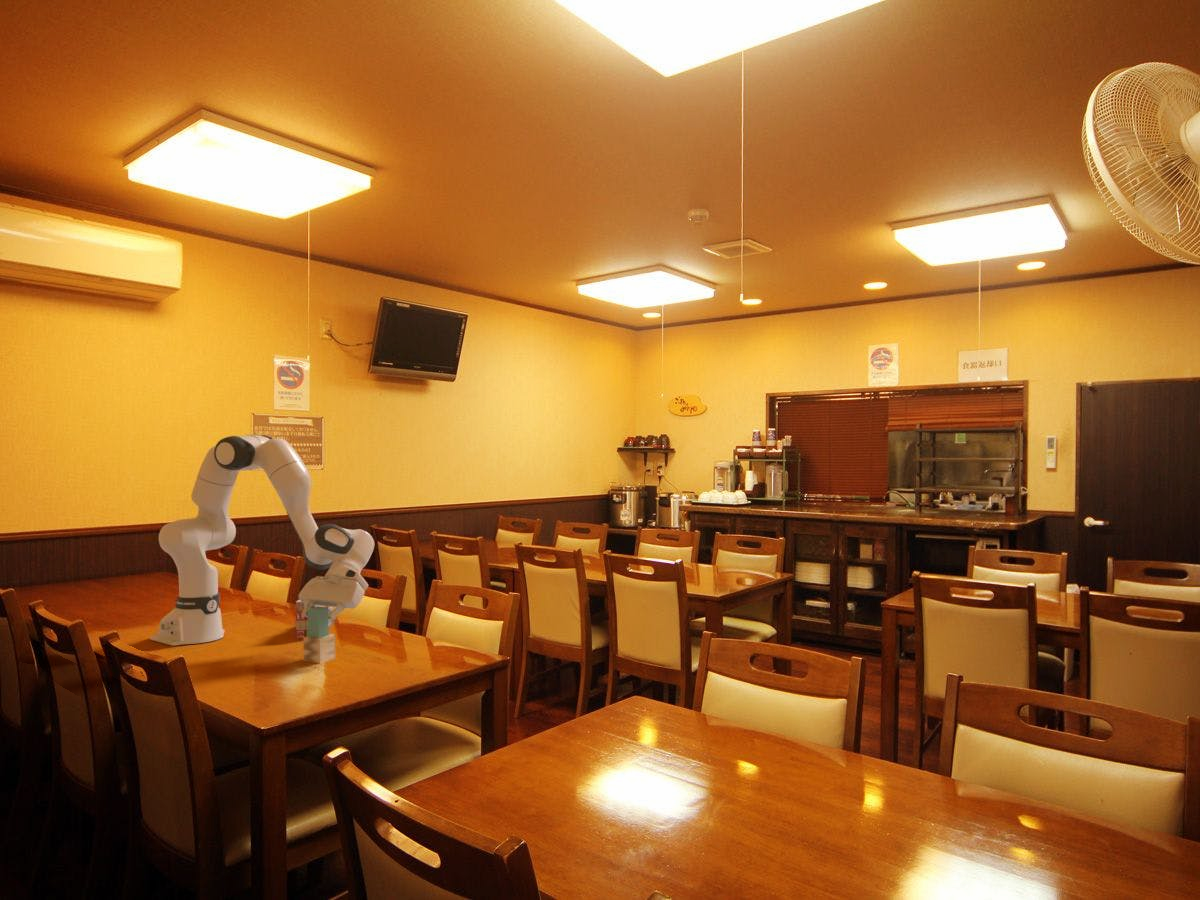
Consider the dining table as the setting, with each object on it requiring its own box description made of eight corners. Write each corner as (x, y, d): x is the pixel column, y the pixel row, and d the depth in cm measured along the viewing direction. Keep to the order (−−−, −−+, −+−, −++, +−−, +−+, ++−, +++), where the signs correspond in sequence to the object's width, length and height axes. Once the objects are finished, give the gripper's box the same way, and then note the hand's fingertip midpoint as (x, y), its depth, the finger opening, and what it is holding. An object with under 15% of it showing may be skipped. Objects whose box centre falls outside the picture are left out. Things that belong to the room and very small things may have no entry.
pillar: (307, 636, 217) (307, 609, 217) (317, 633, 221) (317, 606, 221) (318, 638, 215) (318, 610, 215) (328, 634, 219) (328, 607, 219)
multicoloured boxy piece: (315, 624, 263) (315, 588, 263) (333, 623, 264) (333, 588, 264) (295, 639, 242) (295, 601, 242) (315, 638, 242) (315, 600, 242)
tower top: (303, 649, 216) (303, 637, 216) (318, 644, 222) (318, 632, 222) (319, 651, 214) (319, 639, 214) (334, 646, 219) (334, 634, 219)
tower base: (303, 661, 216) (303, 649, 216) (318, 656, 222) (318, 644, 222) (320, 663, 214) (320, 651, 214) (335, 658, 220) (335, 646, 220)
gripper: (308, 569, 228) (284, 607, 219) (363, 573, 221) (339, 613, 212) (319, 581, 233) (295, 620, 223) (373, 586, 225) (350, 626, 216)
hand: (317, 617), depth 217 cm, fingers open, 8 cm apart
